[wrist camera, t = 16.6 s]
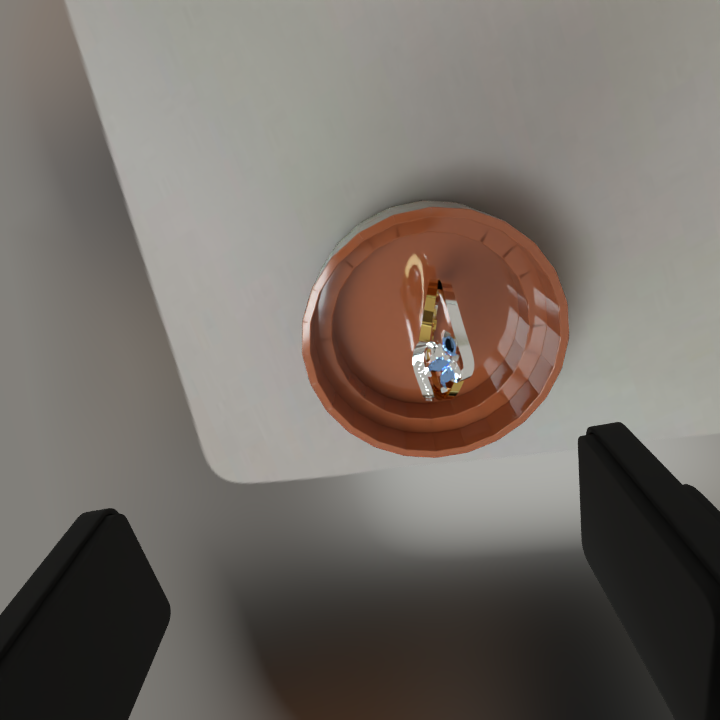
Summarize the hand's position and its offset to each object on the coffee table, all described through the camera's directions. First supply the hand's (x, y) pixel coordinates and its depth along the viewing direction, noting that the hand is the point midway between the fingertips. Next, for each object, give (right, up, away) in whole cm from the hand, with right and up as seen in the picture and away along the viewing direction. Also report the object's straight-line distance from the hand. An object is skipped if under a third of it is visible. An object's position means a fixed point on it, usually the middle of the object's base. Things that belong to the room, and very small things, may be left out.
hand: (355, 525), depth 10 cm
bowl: (+4, +6, +22) cm, 23 cm away
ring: (+4, +6, +22) cm, 23 cm away
